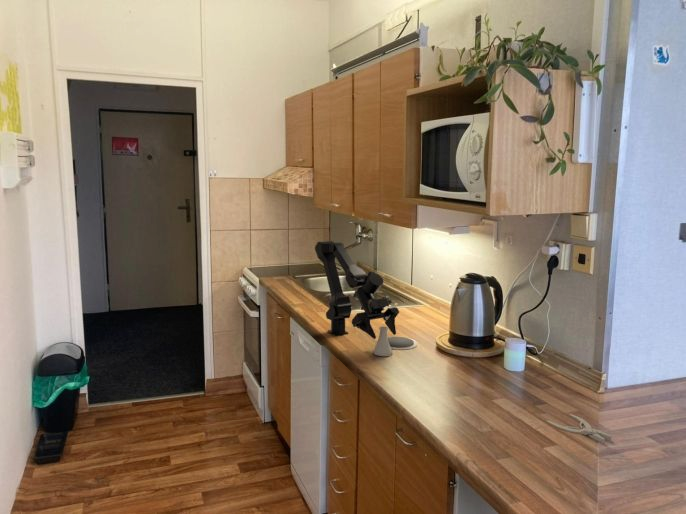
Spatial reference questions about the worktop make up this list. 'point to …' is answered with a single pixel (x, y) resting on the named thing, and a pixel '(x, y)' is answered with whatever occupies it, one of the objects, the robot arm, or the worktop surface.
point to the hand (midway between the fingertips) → (385, 336)
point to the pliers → (585, 430)
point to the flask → (383, 344)
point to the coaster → (402, 343)
